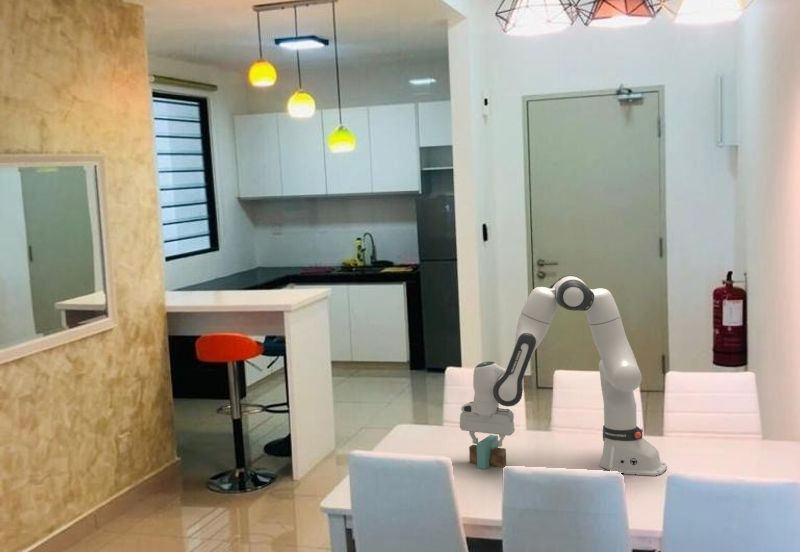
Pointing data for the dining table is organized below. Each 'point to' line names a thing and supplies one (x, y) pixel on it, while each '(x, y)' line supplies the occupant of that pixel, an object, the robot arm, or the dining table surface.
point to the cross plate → (485, 451)
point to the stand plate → (497, 456)
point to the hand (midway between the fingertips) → (487, 444)
